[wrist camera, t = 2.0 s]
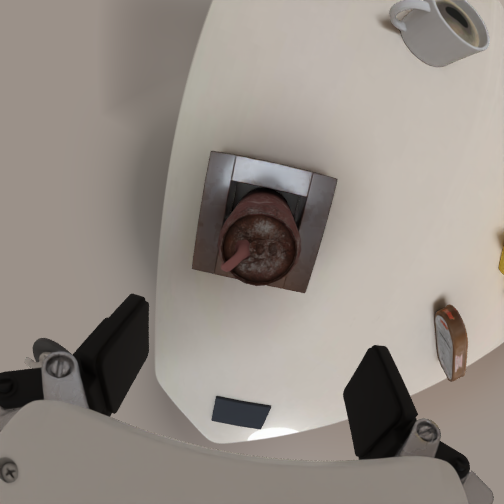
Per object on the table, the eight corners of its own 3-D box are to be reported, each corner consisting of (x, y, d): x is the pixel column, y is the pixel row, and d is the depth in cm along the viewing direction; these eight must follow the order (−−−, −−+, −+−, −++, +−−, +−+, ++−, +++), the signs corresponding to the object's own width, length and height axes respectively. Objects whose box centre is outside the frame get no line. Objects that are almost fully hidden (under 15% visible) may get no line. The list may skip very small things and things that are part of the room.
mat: (211, 418, 46) (211, 420, 45) (216, 395, 43) (215, 398, 43) (261, 427, 46) (260, 429, 45) (271, 405, 43) (270, 408, 43)
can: (226, 211, 32) (195, 248, 19) (266, 176, 31) (263, 189, 17) (259, 248, 34) (251, 306, 20) (299, 216, 32) (319, 256, 19)
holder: (204, 250, 34) (191, 269, 29) (221, 152, 30) (210, 150, 24) (300, 271, 34) (305, 293, 29) (325, 175, 30) (337, 179, 24)
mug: (457, 49, 21) (496, 33, 12) (434, 80, 24) (478, 65, 15) (403, -2, 20) (432, -31, 10) (375, 25, 22) (404, -9, 13)
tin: (447, 355, 38) (466, 383, 30) (434, 362, 39) (452, 392, 31) (444, 294, 34) (471, 322, 26) (428, 303, 35) (454, 333, 27)
